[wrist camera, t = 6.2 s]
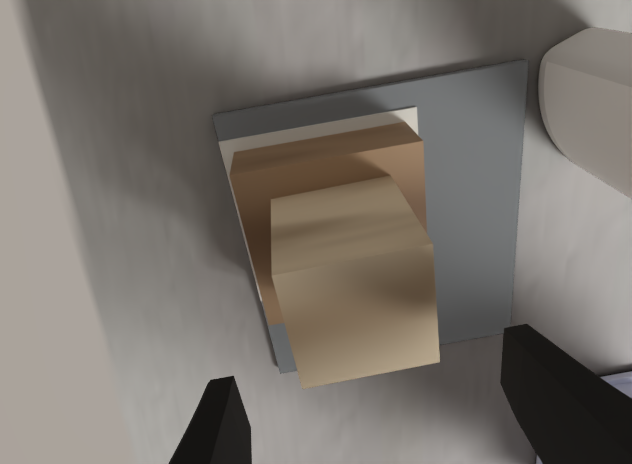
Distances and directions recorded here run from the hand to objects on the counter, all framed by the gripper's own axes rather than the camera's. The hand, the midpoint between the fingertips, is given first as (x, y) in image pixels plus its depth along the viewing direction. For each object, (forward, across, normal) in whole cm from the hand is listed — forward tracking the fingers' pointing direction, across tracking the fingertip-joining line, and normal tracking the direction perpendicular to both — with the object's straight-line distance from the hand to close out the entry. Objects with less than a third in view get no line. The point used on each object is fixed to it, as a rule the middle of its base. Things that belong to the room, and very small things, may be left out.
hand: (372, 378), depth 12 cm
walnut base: (+9, 0, 0) cm, 9 cm away
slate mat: (+10, -2, +2) cm, 10 cm away
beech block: (+7, 0, 0) cm, 7 cm away
